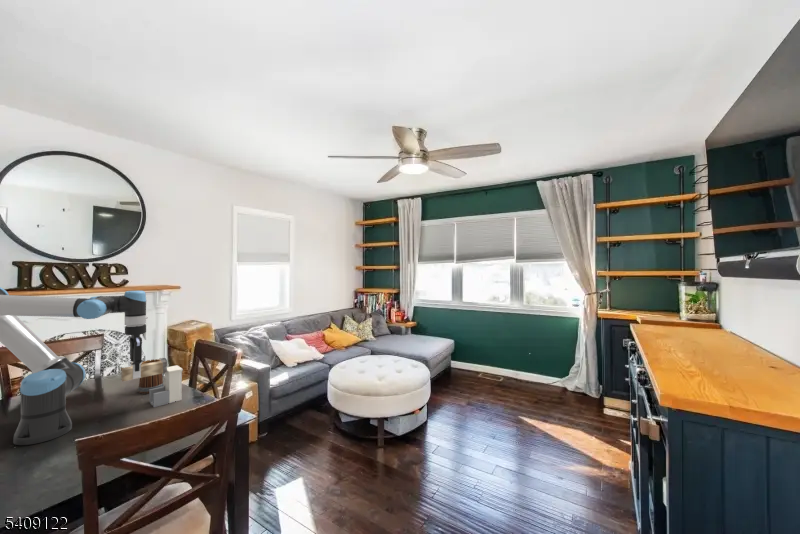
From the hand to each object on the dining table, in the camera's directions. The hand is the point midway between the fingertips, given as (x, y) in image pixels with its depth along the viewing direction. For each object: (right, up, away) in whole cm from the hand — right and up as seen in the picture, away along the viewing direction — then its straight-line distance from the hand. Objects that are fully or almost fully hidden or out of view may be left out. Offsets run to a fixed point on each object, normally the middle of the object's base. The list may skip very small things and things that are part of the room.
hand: (135, 376), depth 147 cm
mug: (-10, -15, +25) cm, 30 cm away
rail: (+2, 0, +2) cm, 3 cm away
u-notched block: (+7, -15, +9) cm, 19 cm away
